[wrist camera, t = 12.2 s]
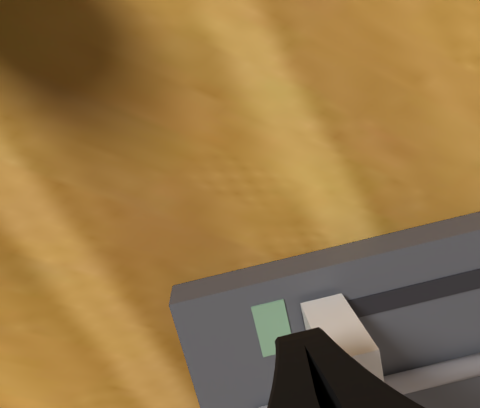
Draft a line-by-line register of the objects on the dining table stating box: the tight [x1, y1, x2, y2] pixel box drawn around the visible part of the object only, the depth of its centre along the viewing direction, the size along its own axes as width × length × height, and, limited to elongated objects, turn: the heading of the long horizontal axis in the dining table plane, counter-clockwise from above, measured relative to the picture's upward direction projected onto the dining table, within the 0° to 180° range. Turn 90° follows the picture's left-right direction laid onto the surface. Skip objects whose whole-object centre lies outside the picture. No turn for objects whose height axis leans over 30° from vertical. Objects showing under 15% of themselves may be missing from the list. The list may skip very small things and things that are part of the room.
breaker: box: [300, 293, 384, 382], centre depth 17 cm, size 2×2×4 cm
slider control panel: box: [169, 212, 480, 408], centre depth 21 cm, size 20×14×3 cm
